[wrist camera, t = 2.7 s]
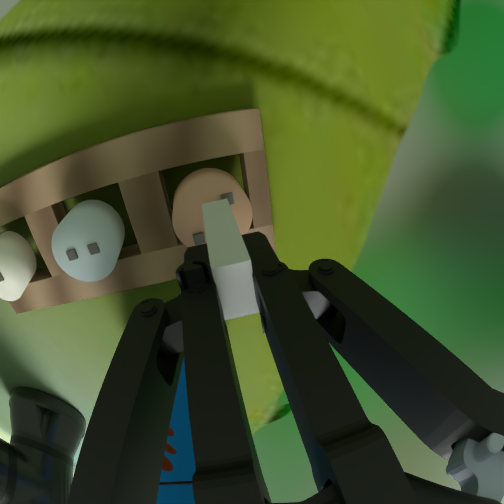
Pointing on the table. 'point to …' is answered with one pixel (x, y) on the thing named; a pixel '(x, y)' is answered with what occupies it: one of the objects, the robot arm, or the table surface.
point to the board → (133, 199)
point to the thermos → (178, 453)
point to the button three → (203, 191)
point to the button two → (88, 240)
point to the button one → (15, 265)
